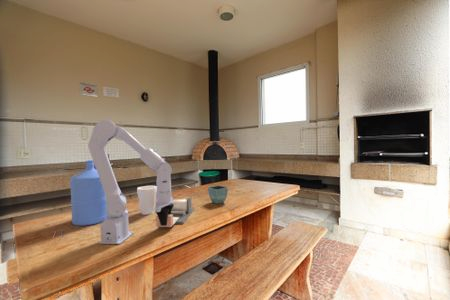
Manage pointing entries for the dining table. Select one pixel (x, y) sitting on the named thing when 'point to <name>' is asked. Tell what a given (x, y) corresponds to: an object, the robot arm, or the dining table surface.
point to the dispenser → (182, 210)
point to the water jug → (87, 197)
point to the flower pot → (217, 194)
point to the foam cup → (147, 199)
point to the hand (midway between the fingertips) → (165, 223)
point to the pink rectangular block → (168, 221)
